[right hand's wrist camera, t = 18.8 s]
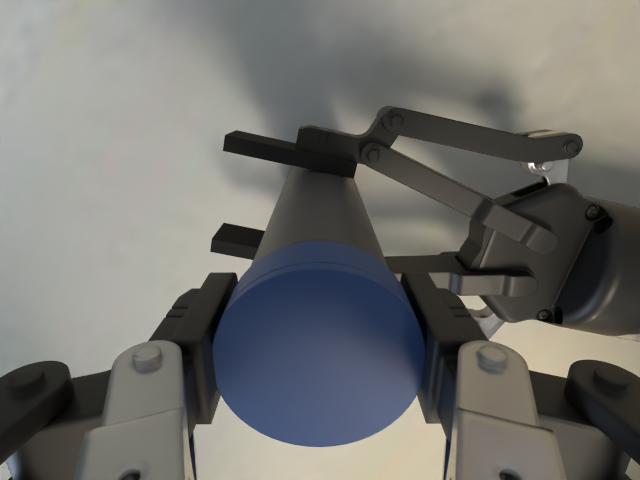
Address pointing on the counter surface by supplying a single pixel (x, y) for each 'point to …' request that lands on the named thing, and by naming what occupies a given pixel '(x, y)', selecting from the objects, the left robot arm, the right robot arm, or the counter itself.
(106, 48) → the counter surface
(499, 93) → the counter surface
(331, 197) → the grey cylinder
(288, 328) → the lid
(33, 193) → the counter surface
